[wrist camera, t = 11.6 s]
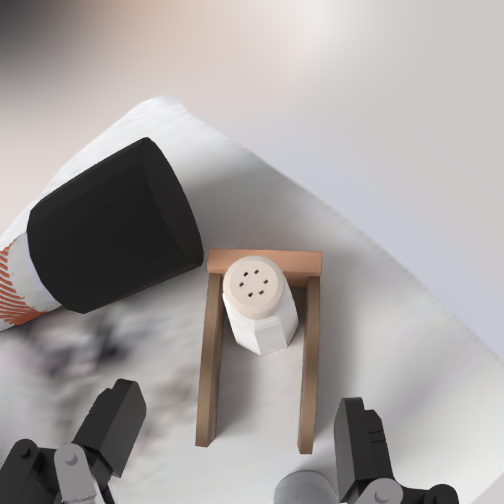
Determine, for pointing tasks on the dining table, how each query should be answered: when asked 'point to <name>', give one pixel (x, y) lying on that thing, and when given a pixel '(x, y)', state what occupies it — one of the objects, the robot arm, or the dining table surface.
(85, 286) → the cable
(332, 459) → the dining table surface
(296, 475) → the planter
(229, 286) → the pepper shaker
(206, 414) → the guide channel
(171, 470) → the dining table surface
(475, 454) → the dining table surface
